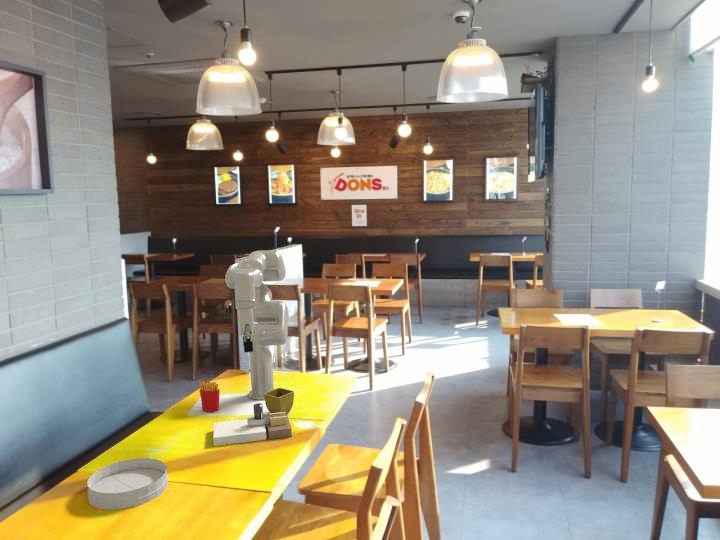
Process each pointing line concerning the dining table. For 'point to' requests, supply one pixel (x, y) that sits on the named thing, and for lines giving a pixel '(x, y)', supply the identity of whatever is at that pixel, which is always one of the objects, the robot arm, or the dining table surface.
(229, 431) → the slide latch panel
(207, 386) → the french fries
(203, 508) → the dining table surface
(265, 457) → the dining table surface
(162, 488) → the dish
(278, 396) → the flower pot
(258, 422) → the bolt
